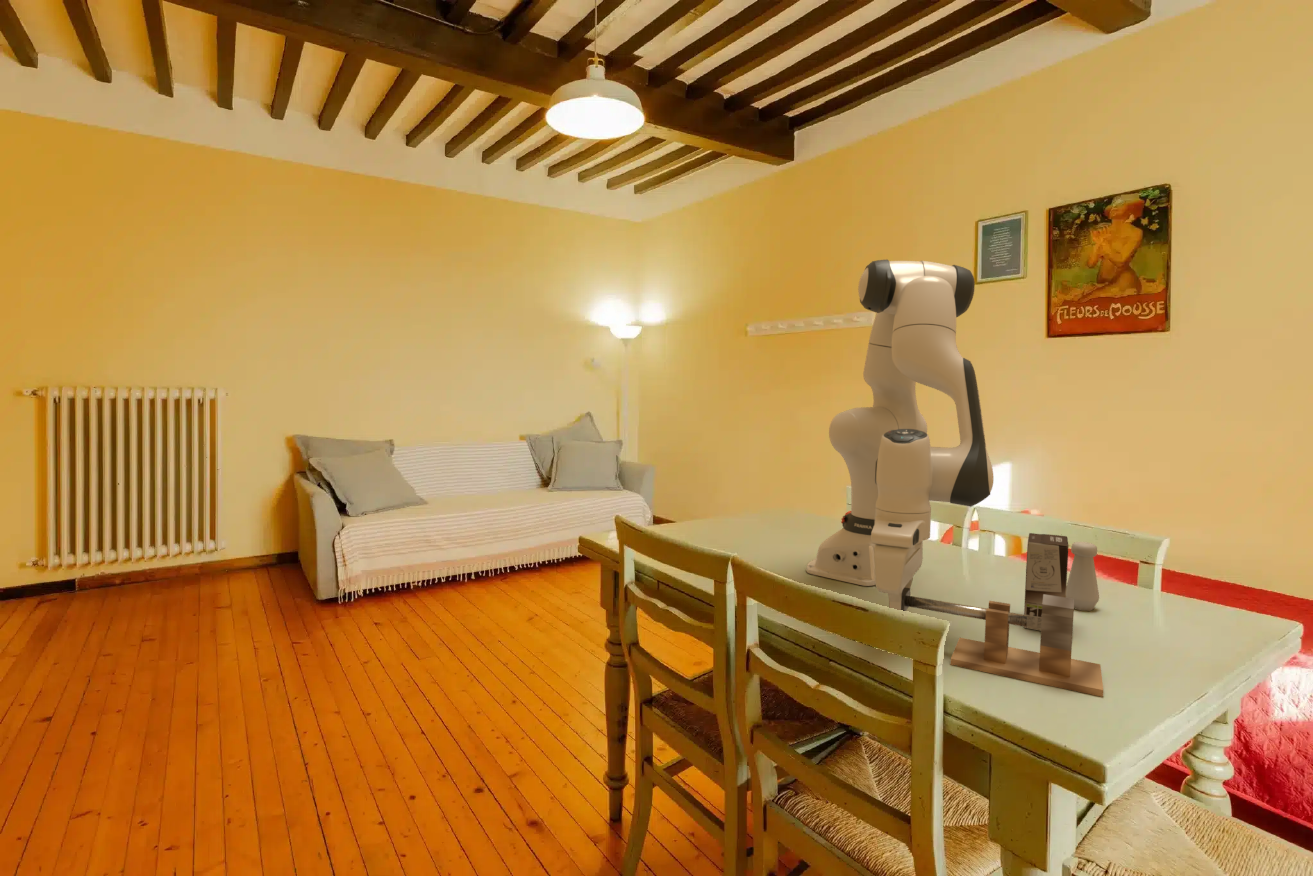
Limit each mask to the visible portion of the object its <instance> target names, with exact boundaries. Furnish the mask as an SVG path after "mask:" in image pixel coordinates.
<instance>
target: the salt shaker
mask: <svg viewBox="0 0 1313 876" xmlns="http://www.w3.org/2000/svg"><path fill="white" fill-rule="evenodd" d="M1070 551H1071V553H1072V554H1073V555H1074V557H1073V559H1072V564H1071V568H1070V571H1069V575H1068V577H1067V585H1066V598H1072V599H1074V608H1075V609H1074V610H1077V611H1083V610H1084V611H1086V612H1091V611H1093V610H1094V608H1095V607H1096V605H1097V604H1098V603H1099V601H1100V594H1099V593H1100V592H1099V586H1098V579H1097V573H1096V567H1095V561H1094V557H1096V556H1097V555H1098V547H1097V546H1096V545H1095V544H1094V543H1092V542H1087V541H1075V542H1073V543H1072V544H1071V549H1070Z"/></svg>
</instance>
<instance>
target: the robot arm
mask: <svg viewBox="0 0 1313 876" xmlns="http://www.w3.org/2000/svg"><path fill="white" fill-rule="evenodd" d="M975 288H976V287H975V277H974V275H973V273H972V272H971V270H970V269H968V268H966V267H964V266H961V265H956V264H952V265H949V264H946V263H945V264H944V263H939V262H935V261H927V260H919V261H917V260H890V261H889V259H878V260H872V261H871V262H870V263H869V264H867V265H866V266H865V269H864V271H863V272H862V274H861V276H860V278H859V282H858V288H857V290H858V296H859V302H860V305H862V307H863V308H864V309H865V310H868V311H870V312H873V313H876V314H875V317H874V320H873V323H872V327H871V330H870V335H869V340H868V344H867V350H866V356H865V361H864V368H863V373H862V374H863V380H864V382H865V383H866V384H867V385H868V386H869V387H870V389H871V392H872V398H873V403H872V406H869V407H868V406H867V407H865V406H864V407H863V406H862V407H854V408H851V409H847V410H843V411H841V412H839V413H837V414H835V416H834V417H833V418H832V420H831V421H830V424H829V428H828V438H829V441H830V443H831V446H832V447H833V448H834V450H835V451H836V452H837V453H839V454H840V455H841V457H842V459H843V460H844V462H845V465H846V467H847V469H848V473H849V477H850V482H851V483H850V486H851V487H850V488H851V490H850V491H851V493H850V495H851V499H850V500H851V504H850V505H851V507H850V509H851V510H848V511H846V512H845V514H844V515H843V516H842V518H841V521H840V522H841V525H842V527H843V528H841V529H839V530H838V531H836V532H835V533H833V534H831V536H829V537H828V538H826V539H825V540H823V541H822V542H821V543H820V544H819V547H818V549H817V553H816V558H814V559H812V560H811V561H809V562H808V563H807V564H806V569H805V570H806V572H807V574H809V575H814V576H819V577H823V578H828V579H832V580H837V581H842V582H846V583H849V584H853V585H854V584H855V585H860V586H863V587H871V586H876V589H877V591H878V592H880V593H883V594H887V596H888V601H889V602H888V609H889V608H894V609H897V610H901V609H902V590H903V589H904V587H905V588H910V590H912V589H911V588H912V583H913V579H914V578H913V577H914V575H916V573H917V572H918V571H919V569H920V568H921V567H922V564H923V559H924V557H923V550H924V548H923V546H924V545H923V544H924V542H923V541H926V540H929V539H930V537H931V523H932V521H931V519H932V517H931V516H932V505H931V503H930V502H943V503H950V504H953V505H960V506H966V507H970V508H971V507H974V506H975V505H978V504H979V503H981V502H982V501H985V500H986V499H987V498H988V497H990V496H991V492H992V490H993V486H994V471H993V465H992V462H991V459H990V456H989V453H988V450H987V444H986V439H985V437H986V436H985V429H984V422H983V421H984V420H983V415H982V407H981V406H982V405H981V399H980V393H979V388H978V382H977V381H978V380H977V375H976V372H975V369H974V366H973V364H972V361H971V360H969V359H967V358H965V357H963V356H962V355H961V352H959V349H958V346H957V337H956V336H957V318H958V317H960V316H962V315H963V314H965V313H966V312H967V311H968V309H969V308H970V306H971V303H972V301H973V298H974V296H975V295H974V294H975ZM917 383H918V384H920V385H923V386H926V387H929V388H932V389H934V390H937V391H939V392H942V393H944V394H945V395H947V396H948V397H950V398H951V399H952V400H953V402H954V404H955V408H956V416H957V418H956V419H957V423H958V432H959V433H958V434H959V439H960V440H959V441H960V444H959V445H958V446H953V447H943V446H942V447H941V446H931V439H930V436H929V434H928V424H927V421H926V419H925V417H924V416H923V414H922V413H921V411H920V410H919V407H918V403H917V395H916V384H917Z"/></svg>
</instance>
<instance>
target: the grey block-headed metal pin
mask: <svg viewBox="0 0 1313 876" xmlns="http://www.w3.org/2000/svg"><path fill="white" fill-rule="evenodd" d="M908 608H915V609H920V610H927V611H931V612H936V613H937V612H938V613H945V614H950V615H955V616H960V617H967V618H973V619H978V620H985V621H986V609H987V608H984V607H979V606H971V605H967V604H962V603H961V604H960V603H955V602H950V601H949V602H948V601H942V600H936V599H931V598H926V597H919V596H912V595H911V589H910V588H905V587H904V589H903V590H902V609H901V610H903V611H906V612H907V610H908ZM1008 624H1009V625H1013V626H1019V627H1023V628H1024V627H1027V615H1024V614H1021V613H1014V612H1011V611H1010V612H1008Z"/></svg>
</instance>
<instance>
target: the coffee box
mask: <svg viewBox="0 0 1313 876" xmlns="http://www.w3.org/2000/svg"><path fill="white" fill-rule="evenodd" d="M1069 546H1070V545H1069V541H1068V536H1066V535H1058V534H1047V533H1034V532H1033V533H1032V532H1029V533H1028V538H1027V547H1026V549H1027V550H1026V562H1025V563H1026V564H1025V565H1026V566H1025V567H1026V568H1025V588H1024V606H1023V607H1024V609H1023V611H1024V613H1023V615H1027V627H1023V628H1024V629H1029V630H1035V631H1040V632H1041V620H1042V602H1043V594H1045V595H1052V596H1059V597H1066V586H1067V582H1068V567H1069V565H1068V563H1069Z"/></svg>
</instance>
